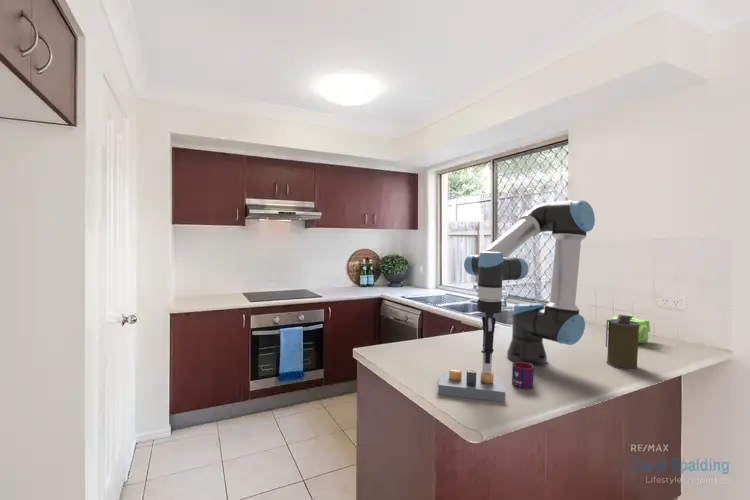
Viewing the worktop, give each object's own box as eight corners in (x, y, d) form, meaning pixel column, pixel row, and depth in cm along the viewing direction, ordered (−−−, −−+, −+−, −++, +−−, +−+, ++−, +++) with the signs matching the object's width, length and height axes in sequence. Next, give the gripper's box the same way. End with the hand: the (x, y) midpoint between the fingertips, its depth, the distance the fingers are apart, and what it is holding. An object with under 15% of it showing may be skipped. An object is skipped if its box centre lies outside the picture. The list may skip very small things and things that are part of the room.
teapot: (665, 348, 171) (667, 320, 171) (622, 347, 172) (623, 319, 171) (637, 337, 190) (639, 312, 189) (598, 336, 190) (600, 311, 189)
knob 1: (461, 385, 123) (461, 369, 123) (461, 390, 119) (461, 373, 119) (449, 384, 124) (449, 368, 124) (448, 388, 120) (449, 372, 120)
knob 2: (492, 387, 121) (492, 371, 120) (493, 392, 117) (494, 375, 117) (479, 386, 122) (480, 369, 121) (480, 391, 118) (481, 374, 117)
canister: (632, 362, 150) (634, 314, 149) (641, 371, 140) (644, 319, 139) (602, 359, 154) (604, 311, 153) (609, 367, 144) (611, 316, 143)
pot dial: (475, 383, 118) (476, 370, 118) (476, 387, 115) (476, 373, 115) (466, 382, 119) (466, 369, 118) (466, 386, 116) (466, 373, 115)
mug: (507, 383, 126) (508, 363, 126) (526, 378, 131) (526, 359, 131) (524, 390, 120) (525, 370, 120) (543, 384, 126) (544, 365, 125)
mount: (500, 385, 124) (500, 376, 124) (505, 401, 112) (505, 392, 112) (440, 378, 129) (440, 370, 129) (438, 394, 116) (438, 384, 116)
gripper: (476, 295, 125) (474, 364, 126) (478, 302, 112) (475, 378, 113) (499, 297, 123) (496, 366, 124) (504, 303, 111) (501, 381, 112)
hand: (486, 372), depth 119 cm, fingers closed
